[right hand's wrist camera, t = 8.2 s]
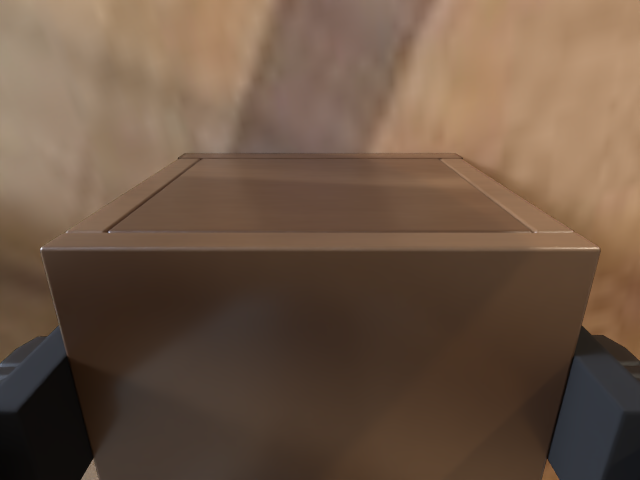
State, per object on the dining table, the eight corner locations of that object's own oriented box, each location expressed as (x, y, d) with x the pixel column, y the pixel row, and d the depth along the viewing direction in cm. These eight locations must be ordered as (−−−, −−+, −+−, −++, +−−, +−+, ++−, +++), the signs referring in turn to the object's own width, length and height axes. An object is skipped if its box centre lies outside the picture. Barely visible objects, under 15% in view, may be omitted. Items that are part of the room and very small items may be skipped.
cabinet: (417, 485, 22) (476, 736, 14) (222, 485, 22) (163, 736, 14) (455, 153, 16) (605, 247, 8) (184, 153, 16) (35, 246, 8)
